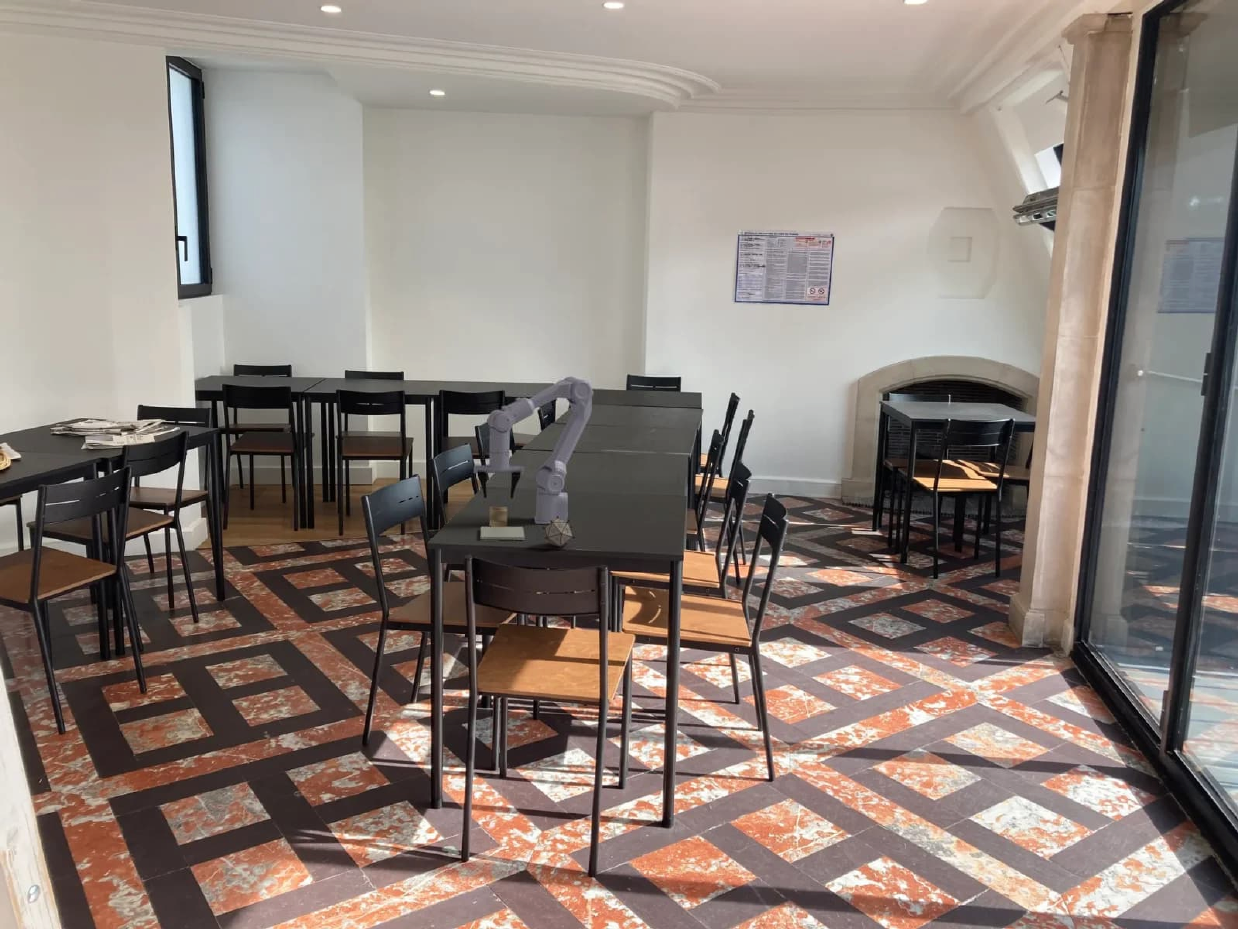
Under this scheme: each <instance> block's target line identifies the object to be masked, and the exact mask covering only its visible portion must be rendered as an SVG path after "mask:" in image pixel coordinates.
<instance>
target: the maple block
mask: <svg viewBox="0 0 1238 929" xmlns="http://www.w3.org/2000/svg"><path fill="white" fill-rule="evenodd" d="M490 526H491V527H508V506H489V527H490Z"/></svg>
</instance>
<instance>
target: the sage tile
mask: <svg viewBox="0 0 1238 929" xmlns="http://www.w3.org/2000/svg"><path fill="white" fill-rule="evenodd" d="M481 539H514V540H515V539H517V540H520V539H521V540H524V541H525V532H524V527H523V526H507V527H490V526H481V527H480V540H481Z"/></svg>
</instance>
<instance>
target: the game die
mask: <svg viewBox="0 0 1238 929" xmlns="http://www.w3.org/2000/svg"><path fill="white" fill-rule="evenodd" d="M570 521H571V520H570V519H567V521H564V520H561V519H558V516H557V519H556V520H554V521H553V522H552V520H550V522H551V523H550V524H547V525H546V526H543V527H541V528H542V530H543V529H544V531H545V537H544V540H546V539H547V541H548V543H547V546H551V545H554V546H556V547H558V548H559V550H562V546H564V545H566V544H567V545H568V542H569V541H570V540H571V539H576V536H573V532H572V529H573V526H572V525H571V526H570V523H569V522H570Z"/></svg>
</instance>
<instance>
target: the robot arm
mask: <svg viewBox="0 0 1238 929" xmlns="http://www.w3.org/2000/svg"><path fill="white" fill-rule="evenodd" d="M593 395H594V391H593V388H592V386H591V384H590V382H589V381H588V380H586V379H580V378H576V377H574V376H567V377H565V378H564V379H561V380H558V381H557V382H556V383H553V384H552V385H550V386H549V387H547V388H546V389H544V390H542V391H540V392H538V393H537V394H535V395H534V396H532V397H530V398H527V397H517V398H515V401H514V402H512V403H509V404H508V405H503V406H501V409H495V410H493V411H491V412H490V414H489V415H488V417H487V419H486V423H487V425H488V427H489V455H488V457H489V458H488V460H489V463H488V464H486V465H485V464H483V465H481V464H479V465H473V474H477V479H478V480H479V483H480V486H481V488H482V491H483V498H484V499H487V474H511V476H510V477H511V483H510V484H511V487H510V499H514V494H515V490H516V487H517V485H518V483H519V481H520V479H521V475H524V474H525V466H522V465H521V466H520V465H510V442H511V441H510V439H511V437H510V431H511V429H512V428H513V426H514V425H516V424H518V423H519V422H522V421H523V420H525V419H528V418H530V417H531V416H533V414H534V412H535V409H537V408H539V407H541V406H543V405H546V404H548V403H550V402H552V401H554V400H557V399H566V400H567V402H568V403H569V404H568V405H570V409H571V414H570V416H569V418H568V420H567V422H566V424H565V425H564V428H563V430H562V433H561V434H560V436H559V438H558V440H557V442H556V445H555V446H554V448H553V451H552V453H551V455H550V456H549V458H548V459H547V460H545V461H544V462H543V464H542V466H540V468H539V469H537V470H536V471H535V473H534V476H533V482H534V483H535V484H534V485H536V487H537V489H536V508H535V510H536V512H535V514H536V515H534V518H533V519H534V524H538V525H539V524H542V525H545V524H546V525H549V524H550V523H551V522H550V520H552V522H553V521H554V520H556V519H557V516H558V519H561V520H564V521H568V518H569V517H568V516H569V511H568V510H569V509H568V508H569V506H568V505H569V504H568V502H569V499H568V498H569V496H568V492H563V491H562V490H563V489H564V486H565V479H566V476H567V464H568V462H569V460H570V458H571V456H572V454H573V453H574V452H573V451H574V450H575V448H576V445H577V444H578V441H579V440H580V438H581V435H582V433H583V431H584V430H585V427H586V425H587V423H588V421H589V419H590V418H591V415H592V411H593V409H592V406H593Z"/></svg>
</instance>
